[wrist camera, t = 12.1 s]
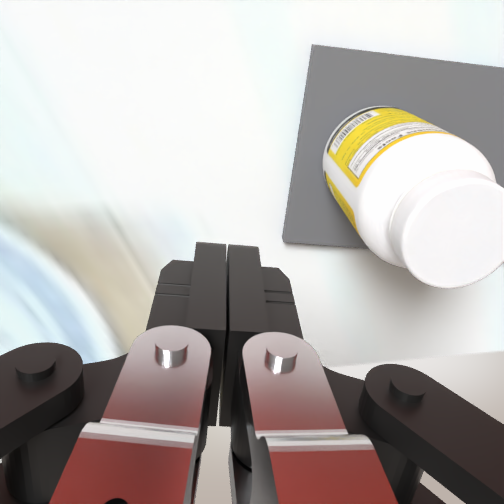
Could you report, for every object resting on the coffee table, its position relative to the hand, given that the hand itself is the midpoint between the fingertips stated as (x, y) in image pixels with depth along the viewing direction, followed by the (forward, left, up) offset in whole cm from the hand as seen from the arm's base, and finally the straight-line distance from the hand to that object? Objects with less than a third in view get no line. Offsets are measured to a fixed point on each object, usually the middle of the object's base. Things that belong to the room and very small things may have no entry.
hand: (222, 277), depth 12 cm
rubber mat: (+11, 0, -14) cm, 18 cm away
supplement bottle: (+8, 0, -14) cm, 16 cm away
